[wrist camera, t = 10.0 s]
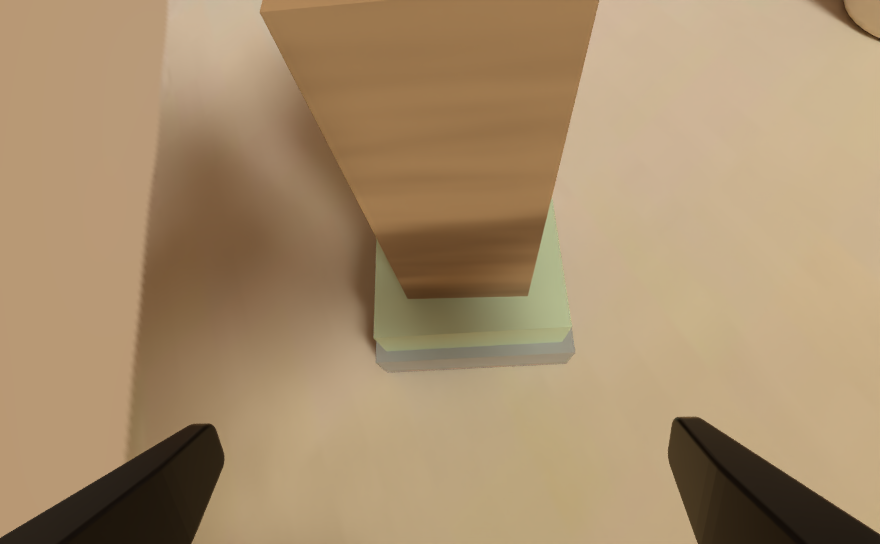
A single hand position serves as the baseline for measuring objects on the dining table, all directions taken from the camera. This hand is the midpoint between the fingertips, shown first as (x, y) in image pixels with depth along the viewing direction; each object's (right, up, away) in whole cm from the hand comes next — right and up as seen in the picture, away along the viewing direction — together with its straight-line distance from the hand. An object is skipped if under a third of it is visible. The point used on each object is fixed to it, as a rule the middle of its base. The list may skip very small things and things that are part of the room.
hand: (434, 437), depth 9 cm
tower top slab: (+1, +4, +13) cm, 14 cm away
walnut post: (+1, +4, +11) cm, 12 cm away
